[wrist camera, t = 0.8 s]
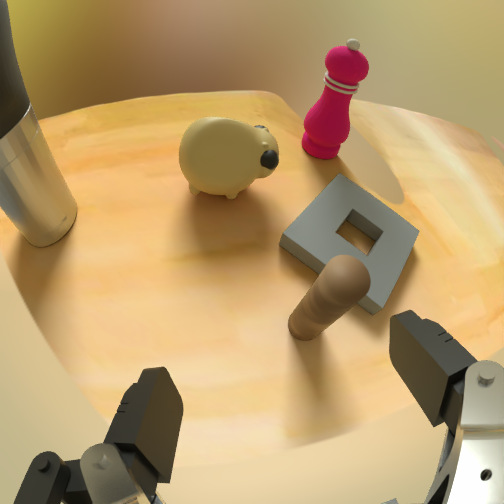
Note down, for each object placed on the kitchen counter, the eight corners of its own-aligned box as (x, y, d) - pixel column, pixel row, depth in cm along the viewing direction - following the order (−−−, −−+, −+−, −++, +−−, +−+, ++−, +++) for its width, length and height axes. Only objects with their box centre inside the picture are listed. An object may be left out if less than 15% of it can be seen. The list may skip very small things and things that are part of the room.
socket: (278, 244, 35) (282, 233, 32) (333, 184, 41) (339, 172, 39) (372, 315, 31) (382, 308, 29) (410, 240, 37) (419, 230, 35)
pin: (281, 326, 30) (315, 279, 19) (300, 302, 31) (340, 245, 21) (308, 347, 29) (356, 311, 18) (326, 321, 30) (378, 274, 20)
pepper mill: (293, 133, 46) (319, 26, 29) (331, 134, 47) (365, 36, 30) (305, 161, 43) (341, 43, 25) (346, 162, 44) (391, 55, 26)
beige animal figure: (275, 211, 37) (292, 148, 28) (180, 213, 36) (171, 148, 26) (265, 159, 42) (276, 99, 33) (184, 160, 40) (179, 99, 31)
